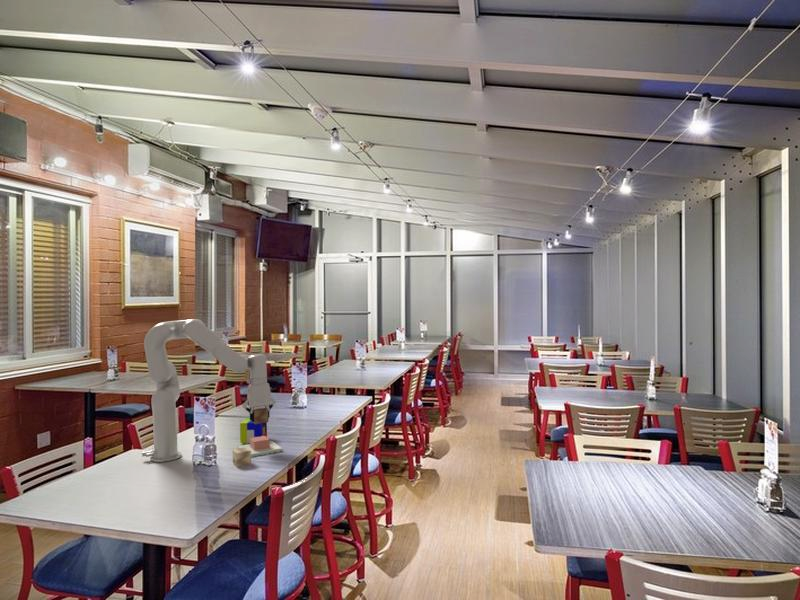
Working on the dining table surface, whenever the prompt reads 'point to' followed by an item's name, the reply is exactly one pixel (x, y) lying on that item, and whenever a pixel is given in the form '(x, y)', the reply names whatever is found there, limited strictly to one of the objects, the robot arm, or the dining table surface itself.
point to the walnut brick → (260, 415)
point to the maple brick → (242, 457)
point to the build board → (261, 452)
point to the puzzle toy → (251, 430)
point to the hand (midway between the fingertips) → (259, 420)
